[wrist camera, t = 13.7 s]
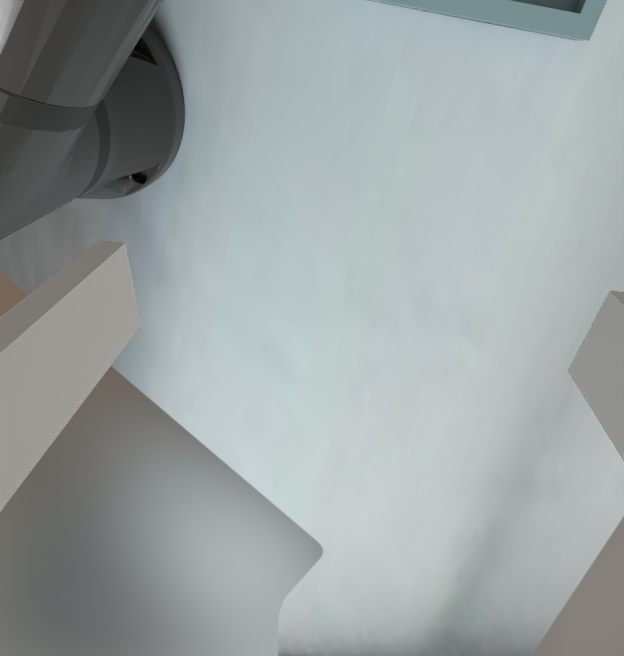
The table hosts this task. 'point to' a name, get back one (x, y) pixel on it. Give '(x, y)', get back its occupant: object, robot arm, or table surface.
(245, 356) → the table surface
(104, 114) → the robot arm
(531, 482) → the table surface
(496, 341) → the table surface
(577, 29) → the tray
